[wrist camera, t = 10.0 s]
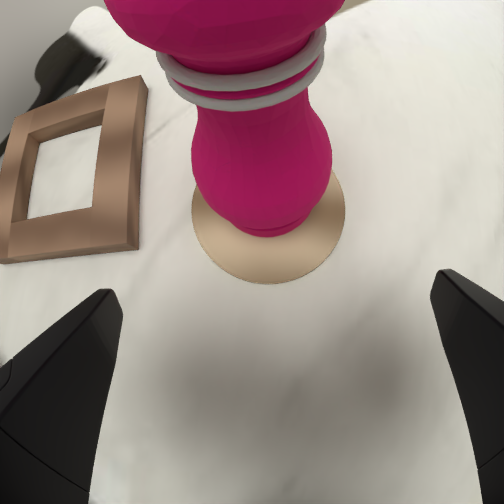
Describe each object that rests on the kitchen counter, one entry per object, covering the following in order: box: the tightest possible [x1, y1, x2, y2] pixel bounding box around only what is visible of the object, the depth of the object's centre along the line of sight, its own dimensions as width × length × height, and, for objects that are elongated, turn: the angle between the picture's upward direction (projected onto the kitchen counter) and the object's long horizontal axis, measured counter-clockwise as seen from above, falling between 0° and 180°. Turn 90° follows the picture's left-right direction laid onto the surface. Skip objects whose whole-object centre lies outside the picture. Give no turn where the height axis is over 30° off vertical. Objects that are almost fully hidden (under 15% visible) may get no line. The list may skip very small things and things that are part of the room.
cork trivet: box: [192, 169, 345, 284], centre depth 21 cm, size 10×10×1 cm
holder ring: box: [0, 75, 148, 264], centre depth 22 cm, size 14×14×2 cm
